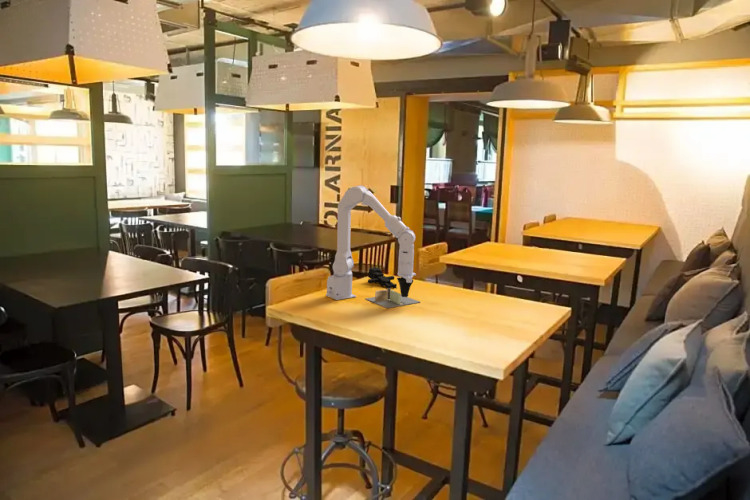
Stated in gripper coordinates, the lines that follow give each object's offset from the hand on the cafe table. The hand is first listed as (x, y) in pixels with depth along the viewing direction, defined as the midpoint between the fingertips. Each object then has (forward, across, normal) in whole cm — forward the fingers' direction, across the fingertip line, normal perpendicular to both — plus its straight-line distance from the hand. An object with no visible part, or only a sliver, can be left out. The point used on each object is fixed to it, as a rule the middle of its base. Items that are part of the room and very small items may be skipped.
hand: (404, 296), depth 209 cm
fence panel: (+2, -1, +4) cm, 4 cm away
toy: (+3, +27, +4) cm, 28 cm away
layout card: (+2, +2, +4) cm, 5 cm away
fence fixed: (+2, +2, +8) cm, 9 cm away
